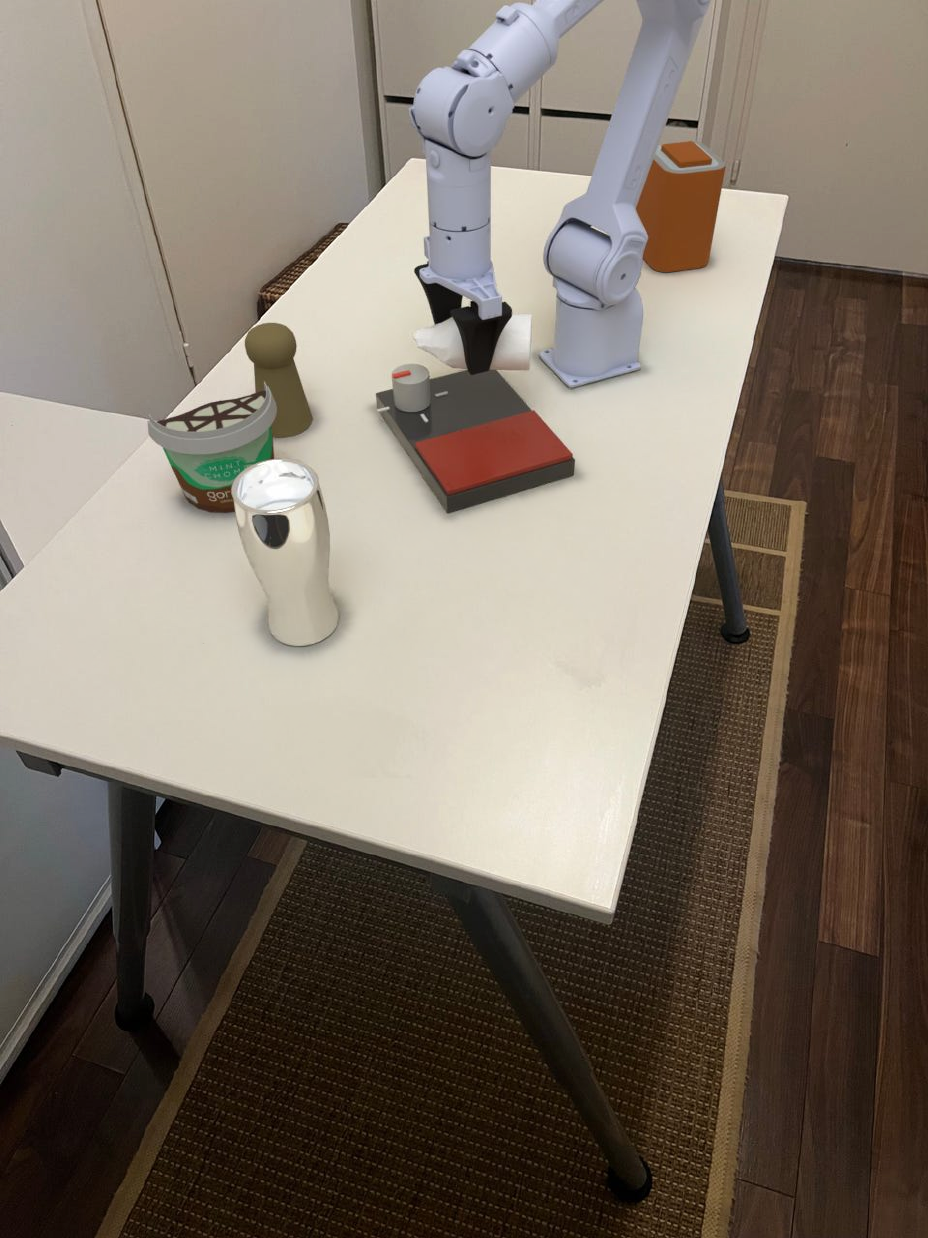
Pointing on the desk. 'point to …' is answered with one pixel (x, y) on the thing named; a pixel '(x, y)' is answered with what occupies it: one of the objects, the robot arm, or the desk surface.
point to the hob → (457, 409)
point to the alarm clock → (680, 206)
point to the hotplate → (492, 452)
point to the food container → (217, 446)
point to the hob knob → (411, 387)
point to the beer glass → (288, 547)
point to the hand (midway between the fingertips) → (462, 351)
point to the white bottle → (508, 351)
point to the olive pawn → (279, 376)
